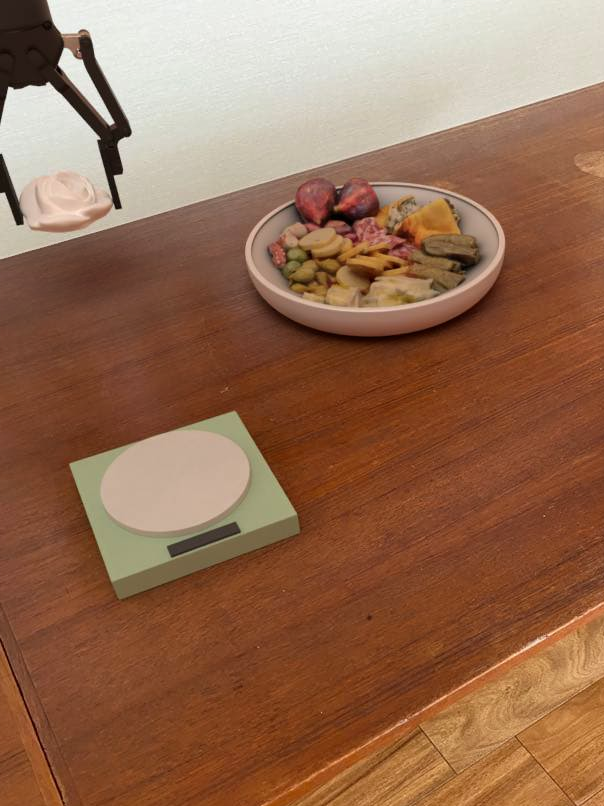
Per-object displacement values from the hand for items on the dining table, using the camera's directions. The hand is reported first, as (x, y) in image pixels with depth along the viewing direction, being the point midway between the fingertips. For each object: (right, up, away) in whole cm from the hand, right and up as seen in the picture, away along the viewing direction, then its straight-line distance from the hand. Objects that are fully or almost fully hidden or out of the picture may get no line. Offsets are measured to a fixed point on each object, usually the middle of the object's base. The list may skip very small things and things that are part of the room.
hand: (69, 211), depth 95 cm
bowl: (+33, -5, +9) cm, 35 cm away
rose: (0, 0, 0) cm, 0 cm away
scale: (+17, -33, -17) cm, 41 cm away
